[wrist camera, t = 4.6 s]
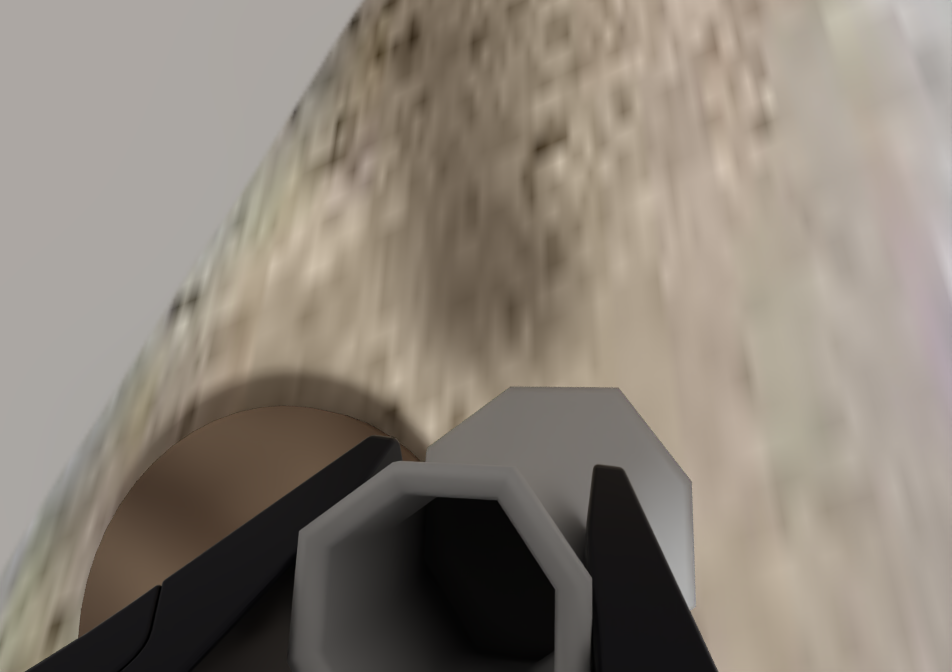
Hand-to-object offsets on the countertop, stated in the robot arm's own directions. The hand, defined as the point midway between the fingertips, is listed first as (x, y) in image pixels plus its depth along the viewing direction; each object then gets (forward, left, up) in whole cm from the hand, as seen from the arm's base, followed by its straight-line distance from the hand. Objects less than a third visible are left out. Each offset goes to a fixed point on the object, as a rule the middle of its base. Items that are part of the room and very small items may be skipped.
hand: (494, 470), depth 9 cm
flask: (-1, -1, -7) cm, 7 cm away
